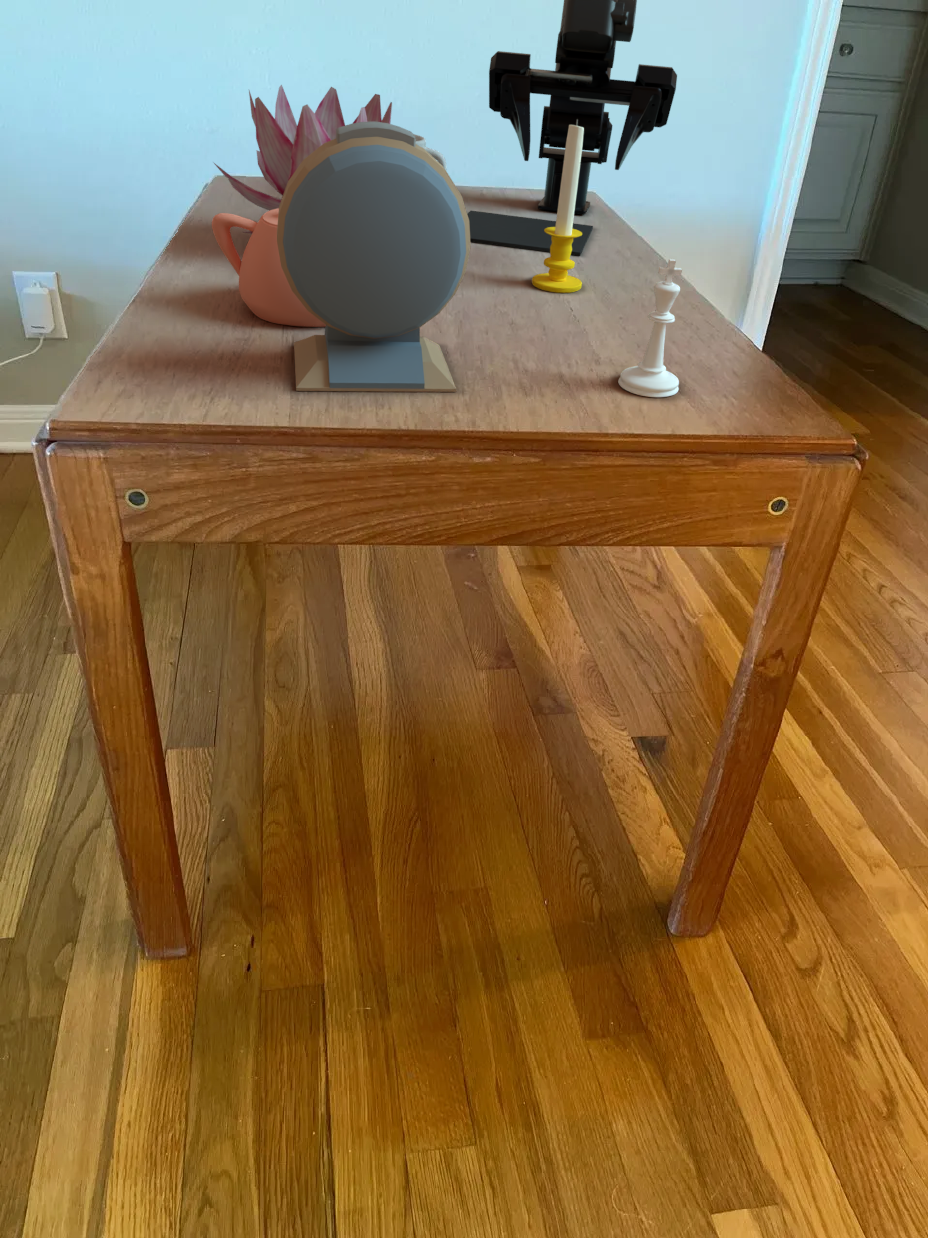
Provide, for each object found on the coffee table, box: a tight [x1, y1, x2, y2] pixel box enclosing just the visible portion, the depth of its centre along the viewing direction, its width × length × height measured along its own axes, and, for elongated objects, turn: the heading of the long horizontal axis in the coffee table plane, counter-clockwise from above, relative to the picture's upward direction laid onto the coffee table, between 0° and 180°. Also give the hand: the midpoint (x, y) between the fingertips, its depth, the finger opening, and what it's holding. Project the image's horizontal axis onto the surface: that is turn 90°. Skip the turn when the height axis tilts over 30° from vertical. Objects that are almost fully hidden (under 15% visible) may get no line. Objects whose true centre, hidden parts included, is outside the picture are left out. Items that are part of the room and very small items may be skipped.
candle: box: [531, 119, 584, 294], centre depth 95 cm, size 5×5×16 cm
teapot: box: [211, 208, 326, 328], centre depth 85 cm, size 12×18×10 cm
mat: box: [467, 210, 594, 257], centre depth 116 cm, size 14×16×1 cm
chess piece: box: [617, 258, 683, 398], centre depth 75 cm, size 5×5×10 cm
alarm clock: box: [277, 121, 472, 393], centre depth 71 cm, size 14×10×18 cm
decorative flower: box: [212, 84, 393, 235], centre depth 99 cm, size 21×21×15 cm
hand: (571, 162), depth 96 cm, fingers open, 9 cm apart
